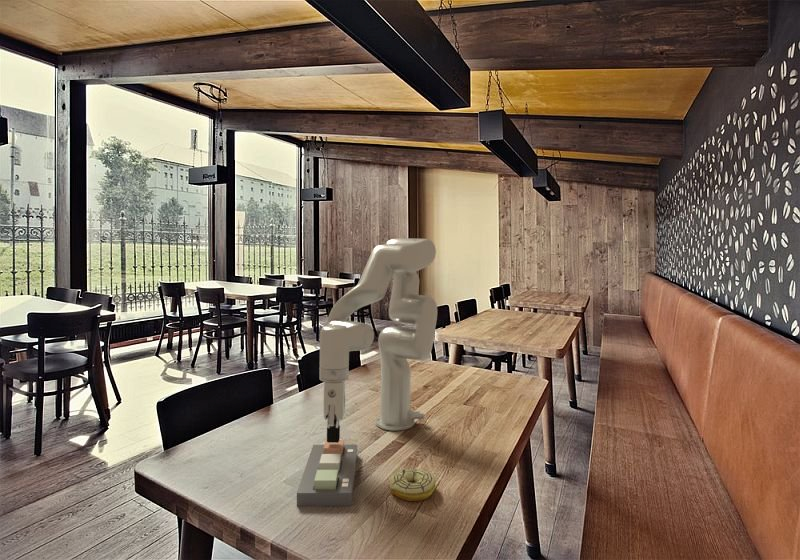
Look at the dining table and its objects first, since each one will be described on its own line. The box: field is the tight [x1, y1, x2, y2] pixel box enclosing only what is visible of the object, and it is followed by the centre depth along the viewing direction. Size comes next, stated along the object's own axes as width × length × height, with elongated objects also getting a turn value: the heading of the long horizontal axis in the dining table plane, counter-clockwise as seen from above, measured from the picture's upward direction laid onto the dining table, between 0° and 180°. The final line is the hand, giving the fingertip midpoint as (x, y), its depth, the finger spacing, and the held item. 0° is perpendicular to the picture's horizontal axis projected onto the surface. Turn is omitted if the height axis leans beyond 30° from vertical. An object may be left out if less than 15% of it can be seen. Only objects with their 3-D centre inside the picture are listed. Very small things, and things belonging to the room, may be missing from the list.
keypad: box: [296, 444, 358, 507], centre depth 112 cm, size 12×24×3 cm, turn 2°
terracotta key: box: [323, 439, 345, 456], centre depth 119 cm, size 5×5×3 cm
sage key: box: [314, 470, 338, 490], centre depth 104 cm, size 5×5×3 cm
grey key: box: [319, 454, 341, 472], centre depth 112 cm, size 5×5×3 cm
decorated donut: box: [389, 468, 436, 502], centre depth 107 cm, size 10×11×4 cm
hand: (333, 441), depth 119 cm, fingers closed
